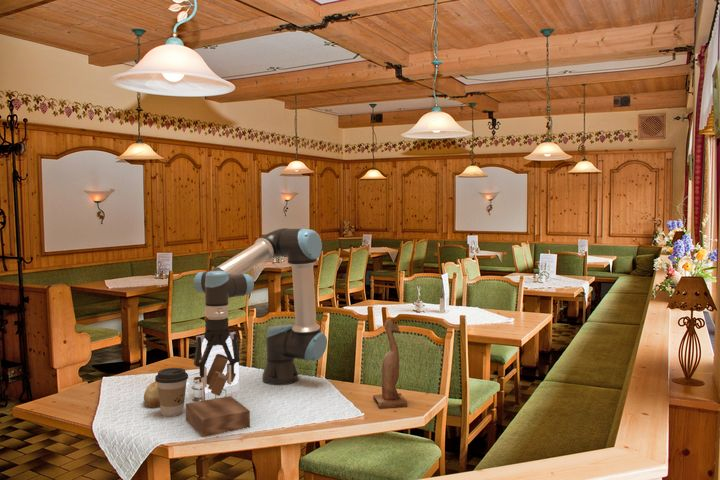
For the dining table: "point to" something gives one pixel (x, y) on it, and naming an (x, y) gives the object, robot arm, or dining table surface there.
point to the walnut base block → (217, 416)
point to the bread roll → (152, 395)
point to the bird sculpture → (390, 373)
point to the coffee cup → (171, 390)
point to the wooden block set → (218, 375)
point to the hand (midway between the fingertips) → (217, 384)
